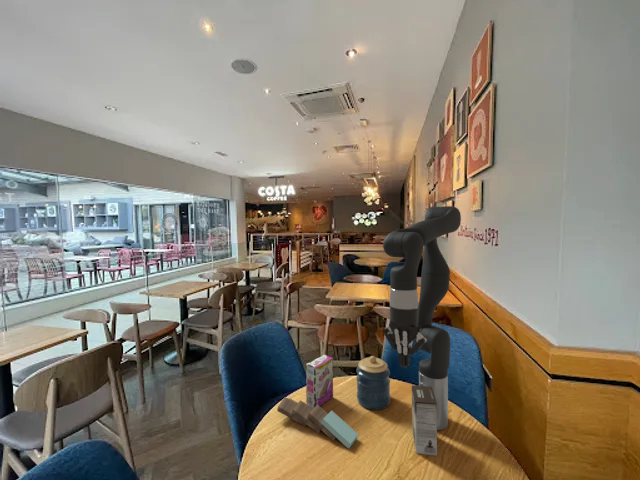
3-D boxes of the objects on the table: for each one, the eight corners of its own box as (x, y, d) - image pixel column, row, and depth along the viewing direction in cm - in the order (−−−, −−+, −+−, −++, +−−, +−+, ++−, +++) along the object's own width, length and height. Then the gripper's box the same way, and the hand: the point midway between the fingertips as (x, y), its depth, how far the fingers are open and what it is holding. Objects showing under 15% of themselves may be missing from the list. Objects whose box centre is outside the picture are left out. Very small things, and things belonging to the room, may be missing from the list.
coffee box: (411, 431, 91) (411, 384, 91) (432, 434, 90) (431, 385, 89) (415, 453, 82) (414, 401, 82) (438, 456, 81) (437, 403, 80)
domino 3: (343, 426, 91) (317, 404, 97) (335, 436, 87) (308, 412, 93) (341, 431, 92) (316, 409, 98) (333, 440, 88) (307, 417, 94)
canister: (351, 393, 113) (351, 351, 112) (380, 388, 116) (379, 347, 116) (365, 413, 100) (364, 366, 100) (396, 407, 104) (396, 361, 103)
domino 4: (358, 434, 88) (331, 410, 94) (350, 444, 84) (323, 418, 90) (356, 439, 88) (330, 415, 94) (348, 449, 84) (321, 423, 90)
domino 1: (311, 410, 99) (284, 396, 102) (305, 421, 94) (278, 406, 98) (310, 415, 99) (283, 401, 103) (304, 425, 95) (277, 410, 98)
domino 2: (326, 418, 95) (300, 400, 100) (320, 428, 91) (293, 409, 95) (325, 422, 96) (299, 404, 100) (318, 433, 91) (291, 413, 96)
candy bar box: (315, 411, 103) (314, 367, 102) (306, 406, 106) (305, 363, 105) (334, 397, 111) (333, 357, 110) (324, 392, 114) (323, 353, 114)
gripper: (375, 303, 78) (376, 363, 78) (420, 311, 69) (421, 380, 69) (389, 298, 83) (390, 354, 84) (433, 305, 74) (433, 369, 75)
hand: (404, 366), depth 76 cm, fingers closed
